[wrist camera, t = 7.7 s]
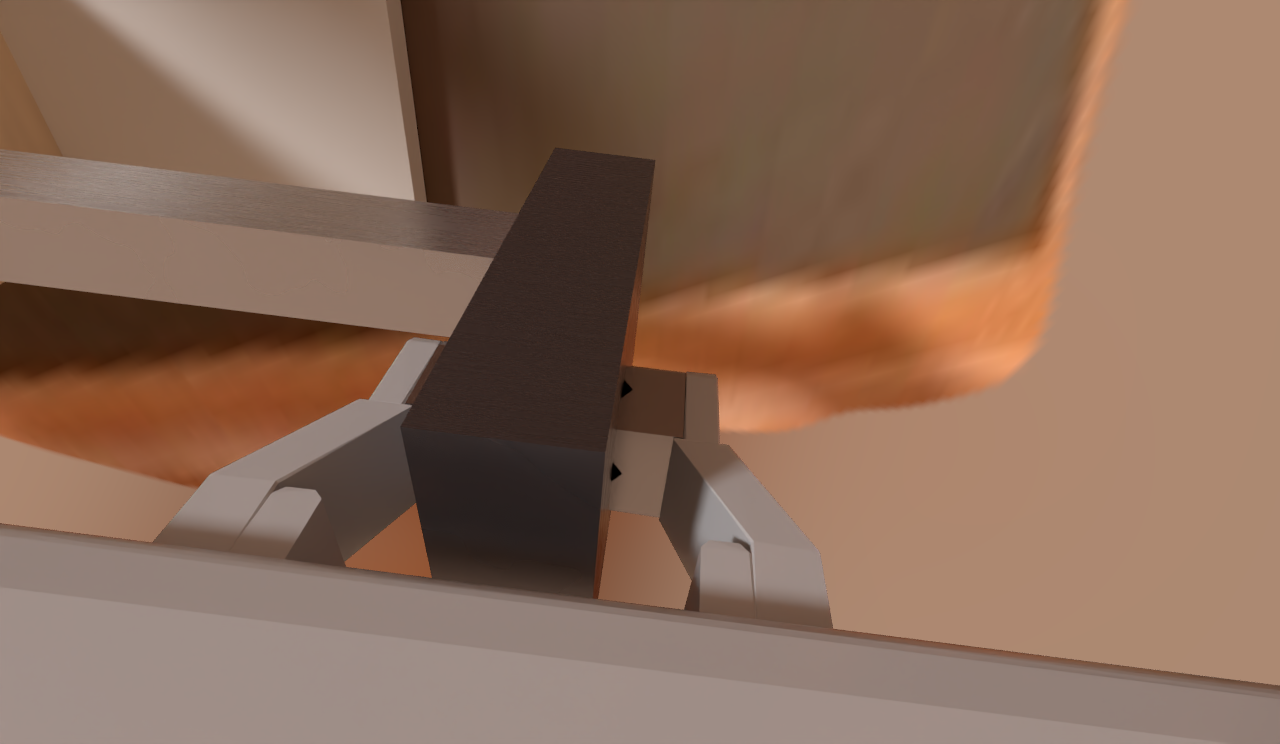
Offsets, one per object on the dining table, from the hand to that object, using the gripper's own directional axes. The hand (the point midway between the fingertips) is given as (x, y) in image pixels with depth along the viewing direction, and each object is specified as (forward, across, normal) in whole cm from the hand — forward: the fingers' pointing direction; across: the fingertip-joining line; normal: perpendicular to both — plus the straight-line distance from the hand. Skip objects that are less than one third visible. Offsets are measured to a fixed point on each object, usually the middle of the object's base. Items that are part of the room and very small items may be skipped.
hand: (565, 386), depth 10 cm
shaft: (+4, +11, 0) cm, 12 cm away
